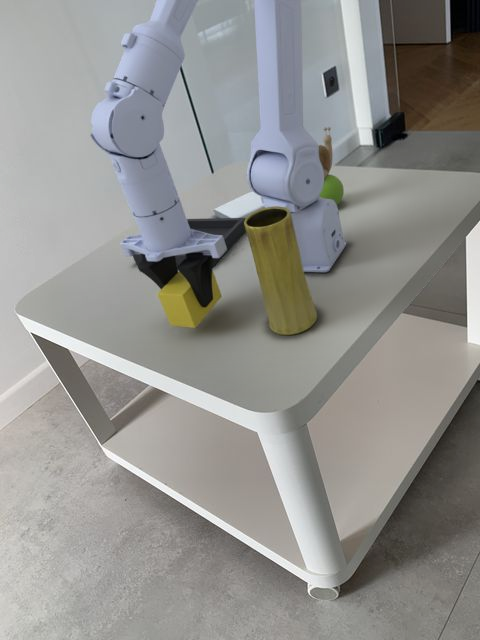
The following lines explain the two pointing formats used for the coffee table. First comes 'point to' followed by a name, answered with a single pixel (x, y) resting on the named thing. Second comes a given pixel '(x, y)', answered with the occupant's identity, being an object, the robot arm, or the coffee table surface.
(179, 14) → the robot arm
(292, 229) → the vase
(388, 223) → the coffee table surface
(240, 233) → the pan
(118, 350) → the coffee table surface
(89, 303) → the coffee table surface
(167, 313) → the sponge
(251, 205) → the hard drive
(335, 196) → the snail figurine
